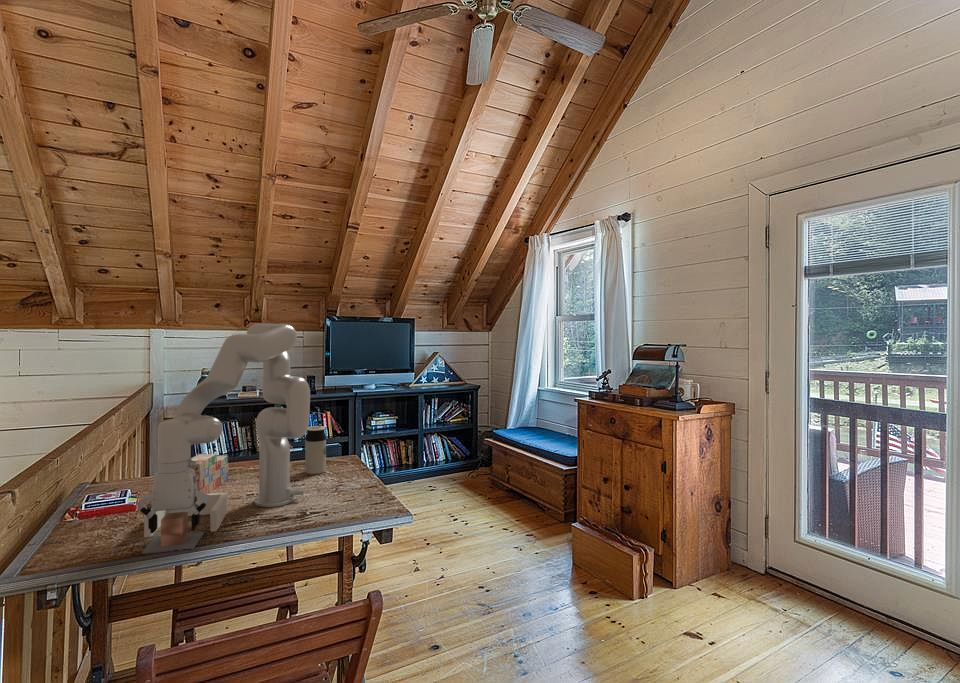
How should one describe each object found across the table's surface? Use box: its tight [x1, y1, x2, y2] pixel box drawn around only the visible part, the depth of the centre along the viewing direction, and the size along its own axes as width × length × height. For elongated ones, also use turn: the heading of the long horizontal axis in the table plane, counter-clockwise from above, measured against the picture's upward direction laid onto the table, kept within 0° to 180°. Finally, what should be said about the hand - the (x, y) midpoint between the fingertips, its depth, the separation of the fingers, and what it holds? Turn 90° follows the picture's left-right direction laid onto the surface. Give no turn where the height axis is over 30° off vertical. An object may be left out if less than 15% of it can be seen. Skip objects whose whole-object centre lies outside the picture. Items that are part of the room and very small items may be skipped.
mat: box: [141, 531, 205, 555], centre depth 133 cm, size 12×10×1 cm
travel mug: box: [304, 425, 327, 475], centre depth 199 cm, size 8×8×18 cm
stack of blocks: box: [191, 453, 229, 494], centre depth 177 cm, size 21×6×12 cm, turn 3°
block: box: [160, 512, 189, 546], centre depth 132 cm, size 5×5×7 cm
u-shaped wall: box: [143, 492, 229, 538], centre depth 146 cm, size 18×16×6 cm
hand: (174, 529), depth 132 cm, fingers open, 9 cm apart
